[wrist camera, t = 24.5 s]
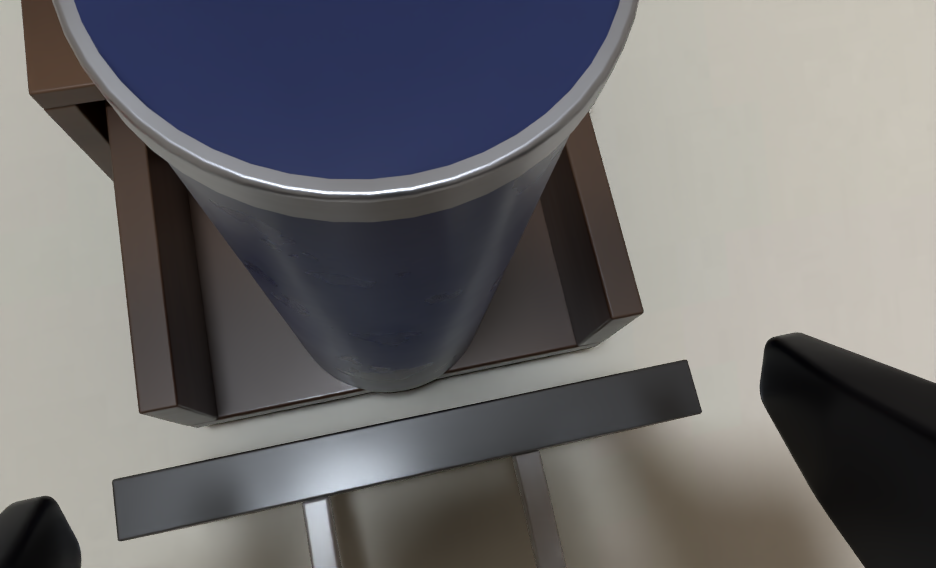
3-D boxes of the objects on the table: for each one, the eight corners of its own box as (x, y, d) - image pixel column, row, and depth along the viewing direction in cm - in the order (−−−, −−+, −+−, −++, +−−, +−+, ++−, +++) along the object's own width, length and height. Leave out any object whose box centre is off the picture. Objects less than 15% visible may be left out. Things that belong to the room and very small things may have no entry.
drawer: (685, 607, 20) (769, 644, 15) (208, 728, 18) (143, 811, 14) (492, -124, 25) (512, -257, 21) (112, -79, 23) (42, -213, 19)
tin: (451, 423, 19) (557, 286, 6) (258, 360, 19) (-75, 80, 6) (508, 240, 21) (702, -210, 7) (328, 182, 21) (189, -375, 7)
